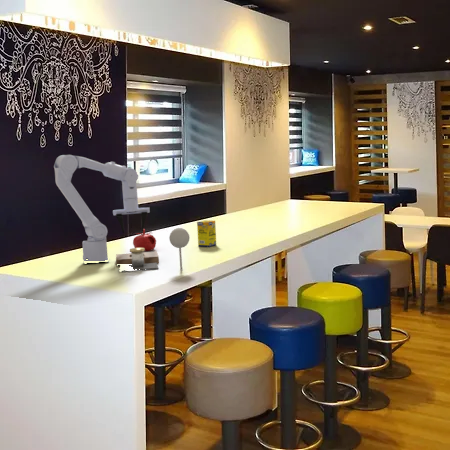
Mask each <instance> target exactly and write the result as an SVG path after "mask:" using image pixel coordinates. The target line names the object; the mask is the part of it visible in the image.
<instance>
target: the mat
mask: <svg viewBox="0 0 450 450" xmlns="http://www.w3.org/2000/svg"><path fill="white" fill-rule="evenodd" d="M129 266H131V267H132V265H129ZM133 269H134V270H135V269H137V270H139V269H140V270H142V271H146V270H145V269H155V270H159V267H158V263H145V264H144V267H138V268H135V267H133Z"/></svg>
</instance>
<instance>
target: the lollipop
mask: <svg viewBox="0 0 450 450" xmlns="http://www.w3.org/2000/svg"><path fill="white" fill-rule="evenodd" d="M169 242H170V244H171V246H173V247H174V248H176V249H178V253H179V266H180V271H183V261H182V260H183V259H182V248H185V247H186V246H187V245H188V244H189V242H190V234H189V232H188V231H187V230H186V229H184V228H183V227H178V228H174V229H172V231H171V232H170V234H169Z"/></svg>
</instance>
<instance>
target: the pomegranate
mask: <svg viewBox="0 0 450 450" xmlns="http://www.w3.org/2000/svg"><path fill="white" fill-rule="evenodd" d="M135 235H137V236H134V238H133V239H132V245H133V248H145V251H144V252H152V251H154V249H155V248H156V246H157V245H156V244H157V240H156V237H155V236H154V235H152V232H146V229H145V228H144V231H142V233H140V232H137V233H135Z"/></svg>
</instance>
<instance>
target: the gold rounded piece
mask: <svg viewBox="0 0 450 450" xmlns="http://www.w3.org/2000/svg"><path fill="white" fill-rule="evenodd" d="M129 252H130V253H131V255H132V267H135V268H138V267H144V253H143V252H146V251H145V248H135V247H132V248H130V249H129Z"/></svg>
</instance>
